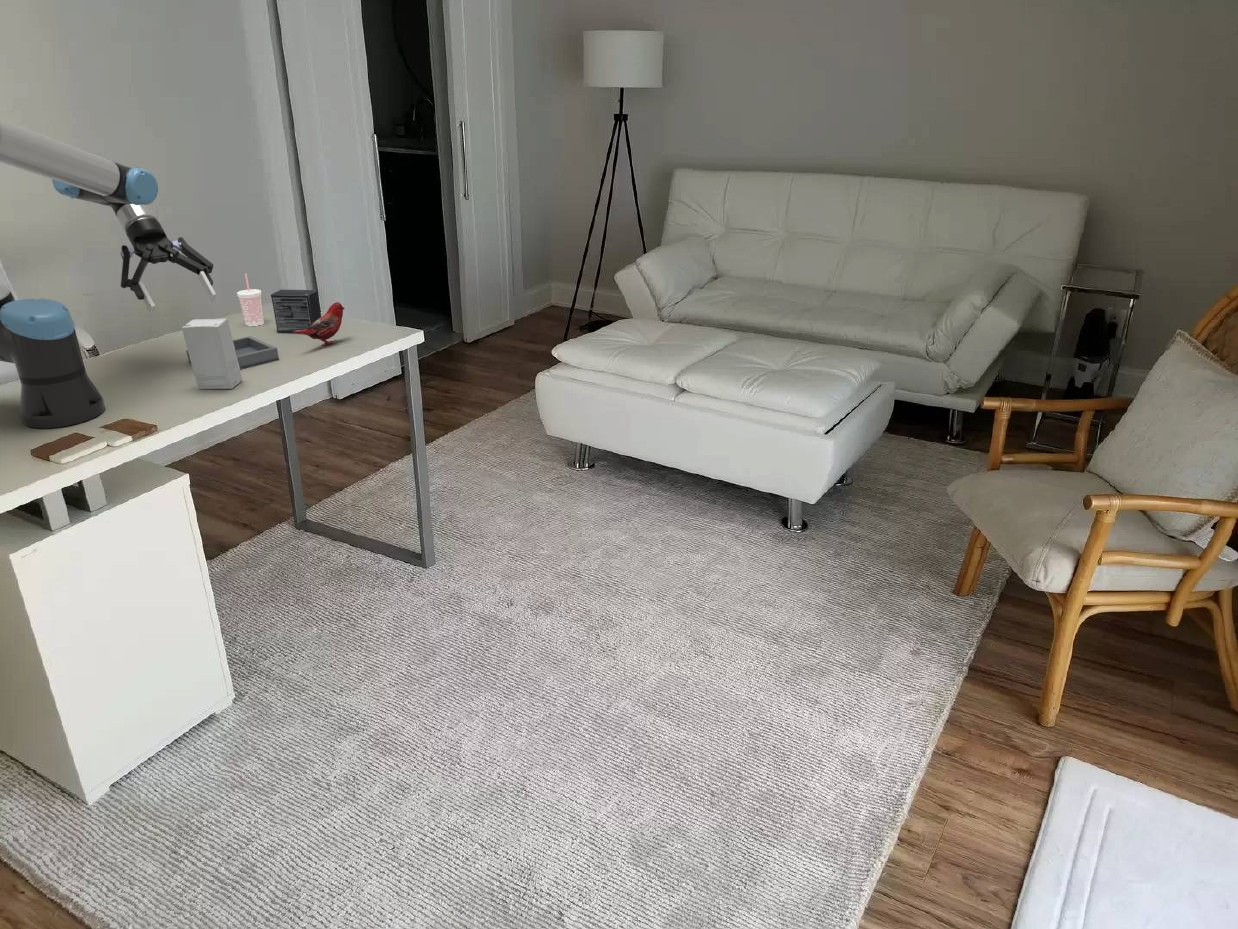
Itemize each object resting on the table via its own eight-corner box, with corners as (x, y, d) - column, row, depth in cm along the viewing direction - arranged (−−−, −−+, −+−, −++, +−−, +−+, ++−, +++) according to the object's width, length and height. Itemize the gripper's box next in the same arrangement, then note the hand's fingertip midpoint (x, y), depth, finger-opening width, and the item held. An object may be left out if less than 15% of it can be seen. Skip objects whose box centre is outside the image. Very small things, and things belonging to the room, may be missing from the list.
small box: (324, 327, 243) (318, 288, 238) (314, 334, 237) (308, 295, 233) (287, 326, 244) (280, 288, 239) (276, 333, 238) (269, 294, 234)
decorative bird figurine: (352, 338, 234) (347, 300, 229) (299, 357, 220) (293, 317, 216) (344, 336, 235) (339, 299, 231) (291, 355, 221) (284, 315, 217)
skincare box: (243, 381, 205) (230, 317, 198) (231, 390, 199) (218, 325, 193) (206, 380, 205) (193, 317, 199) (194, 389, 200) (180, 325, 193)
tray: (214, 375, 208) (211, 363, 206) (188, 362, 217) (186, 350, 215) (279, 359, 218) (277, 347, 217) (252, 347, 227) (250, 335, 226)
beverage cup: (238, 325, 244) (228, 274, 238) (255, 319, 249) (246, 269, 243) (254, 328, 242) (244, 277, 236) (271, 322, 247) (262, 272, 240)
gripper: (194, 229, 216) (234, 302, 213) (82, 245, 199) (124, 324, 196) (199, 209, 210) (240, 283, 207) (84, 224, 194) (127, 305, 191)
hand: (183, 303), depth 202 cm, fingers open, 13 cm apart
